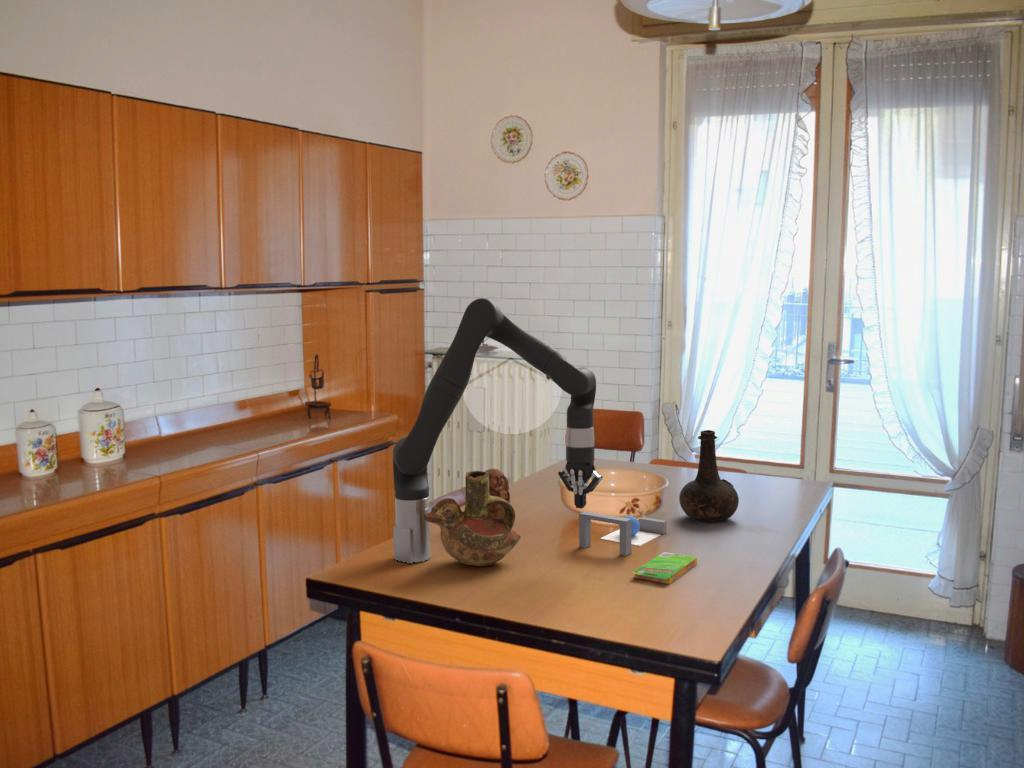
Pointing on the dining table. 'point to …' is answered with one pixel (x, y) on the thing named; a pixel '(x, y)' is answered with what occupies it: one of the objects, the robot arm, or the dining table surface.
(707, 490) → the glass bottle
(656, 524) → the wall
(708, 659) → the dining table surface
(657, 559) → the game box
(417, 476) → the robot arm
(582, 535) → the bridge
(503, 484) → the wooden figurine
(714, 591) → the dining table surface
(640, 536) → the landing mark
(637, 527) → the ball
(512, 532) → the ceramic vessel
